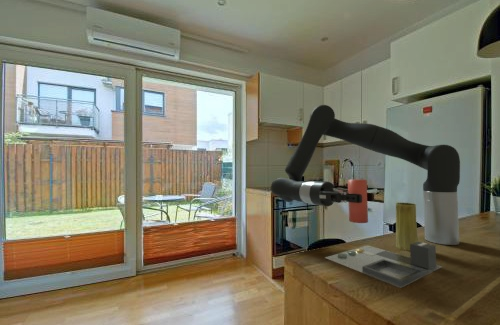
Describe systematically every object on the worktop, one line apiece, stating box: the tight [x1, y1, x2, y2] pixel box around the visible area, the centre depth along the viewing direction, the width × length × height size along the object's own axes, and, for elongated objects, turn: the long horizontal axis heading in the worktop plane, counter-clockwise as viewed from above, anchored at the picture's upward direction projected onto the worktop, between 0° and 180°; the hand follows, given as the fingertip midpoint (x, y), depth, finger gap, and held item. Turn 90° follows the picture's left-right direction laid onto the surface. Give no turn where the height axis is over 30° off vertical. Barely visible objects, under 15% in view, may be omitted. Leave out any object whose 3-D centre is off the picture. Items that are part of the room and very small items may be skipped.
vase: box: [395, 202, 419, 252], centre depth 74 cm, size 6×6×14 cm
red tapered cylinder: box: [347, 178, 369, 224], centre depth 63 cm, size 5×5×11 cm
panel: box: [324, 244, 443, 289], centre depth 62 cm, size 20×20×2 cm
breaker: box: [409, 241, 437, 269], centre depth 60 cm, size 4×4×5 cm
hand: (367, 197), depth 60 cm, fingers closed on red tapered cylinder, 4 cm apart
